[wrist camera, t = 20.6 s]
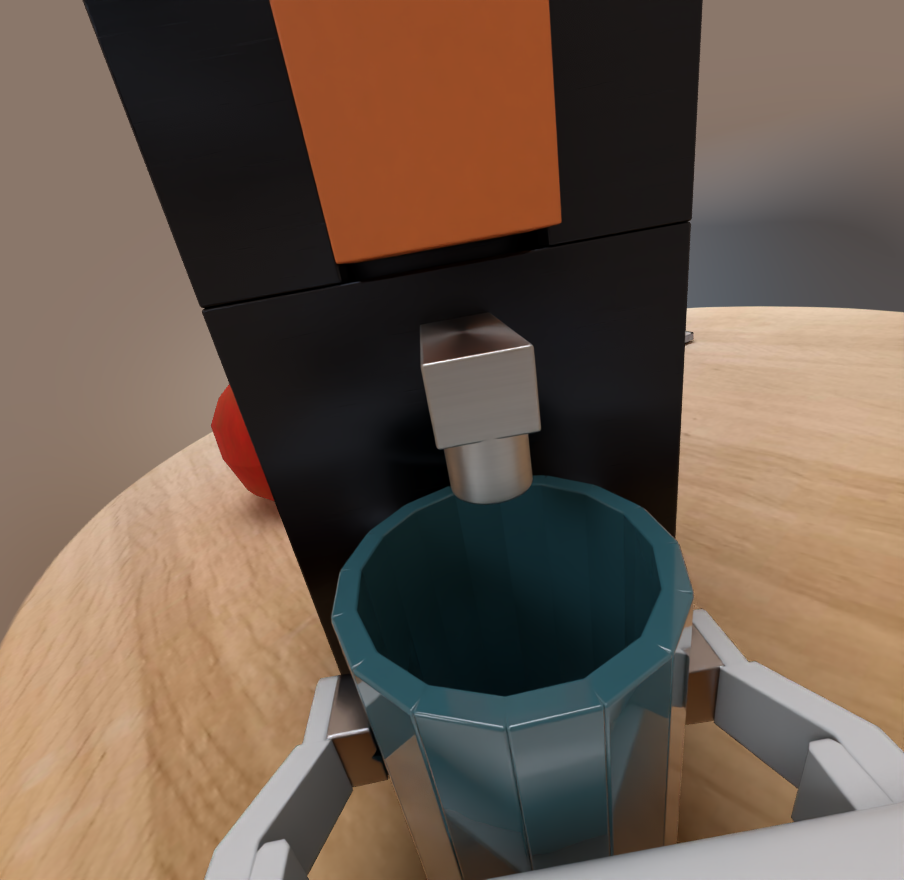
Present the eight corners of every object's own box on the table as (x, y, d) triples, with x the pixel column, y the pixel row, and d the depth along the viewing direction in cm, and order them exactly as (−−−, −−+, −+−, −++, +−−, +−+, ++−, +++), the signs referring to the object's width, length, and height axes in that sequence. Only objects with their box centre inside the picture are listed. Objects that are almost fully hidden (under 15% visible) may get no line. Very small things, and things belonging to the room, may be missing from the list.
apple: (376, 455, 41) (344, 334, 36) (351, 514, 32) (305, 361, 27) (274, 469, 42) (231, 352, 37) (222, 531, 33) (156, 386, 28)
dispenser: (752, 817, 12) (1130, -1089, 3) (345, 893, 12) (-554, -793, 3) (579, 529, 26) (550, 9, 16) (382, 565, 26) (239, 65, 16)
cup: (732, 852, 11) (780, 569, 7) (514, 1104, 8) (423, 852, 5) (550, 661, 16) (527, 451, 13) (386, 774, 14) (301, 547, 10)
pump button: (562, 223, 8) (539, -177, 6) (335, 264, 8) (237, -123, 6) (526, 232, 11) (502, -42, 9) (356, 263, 11) (293, -4, 9)
